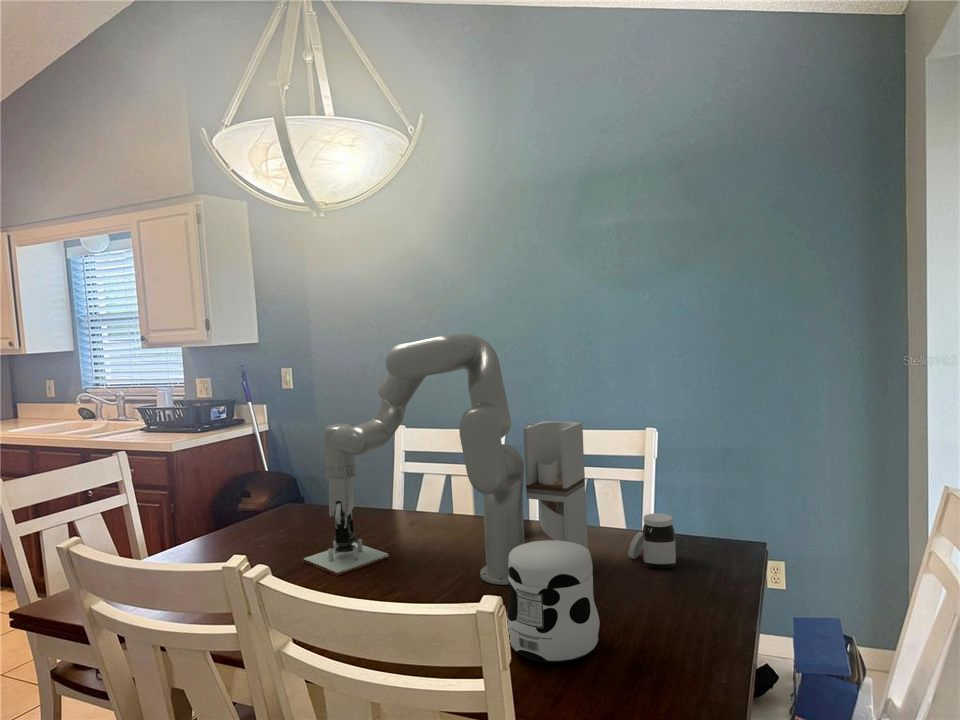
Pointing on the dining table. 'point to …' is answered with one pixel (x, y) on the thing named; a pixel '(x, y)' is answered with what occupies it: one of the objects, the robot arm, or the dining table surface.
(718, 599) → the dining table surface
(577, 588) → the milk container
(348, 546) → the salt shaker
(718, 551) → the dining table surface
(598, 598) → the dining table surface
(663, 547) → the spread jar
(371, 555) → the pin tray
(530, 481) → the open shelf unit
